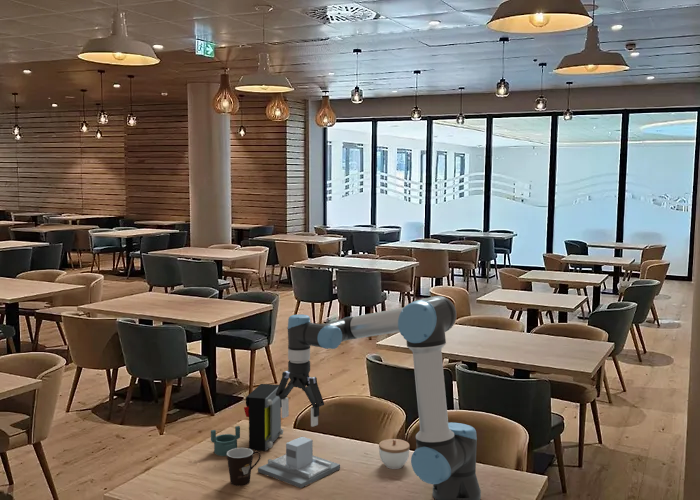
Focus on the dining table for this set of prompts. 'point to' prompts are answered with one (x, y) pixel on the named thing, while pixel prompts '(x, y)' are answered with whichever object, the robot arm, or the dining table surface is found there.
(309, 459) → the block
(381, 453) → the lidded jar
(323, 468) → the din rail
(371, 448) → the dining table surface
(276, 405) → the electrical component
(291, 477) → the mounting board
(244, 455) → the coffee mug
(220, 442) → the bracket
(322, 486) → the dining table surface
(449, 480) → the robot arm
